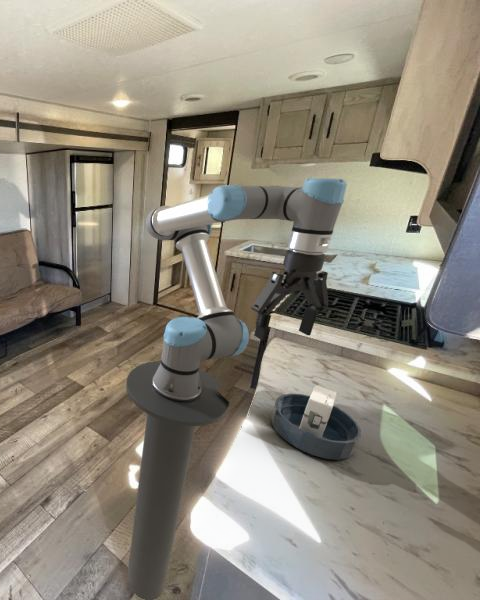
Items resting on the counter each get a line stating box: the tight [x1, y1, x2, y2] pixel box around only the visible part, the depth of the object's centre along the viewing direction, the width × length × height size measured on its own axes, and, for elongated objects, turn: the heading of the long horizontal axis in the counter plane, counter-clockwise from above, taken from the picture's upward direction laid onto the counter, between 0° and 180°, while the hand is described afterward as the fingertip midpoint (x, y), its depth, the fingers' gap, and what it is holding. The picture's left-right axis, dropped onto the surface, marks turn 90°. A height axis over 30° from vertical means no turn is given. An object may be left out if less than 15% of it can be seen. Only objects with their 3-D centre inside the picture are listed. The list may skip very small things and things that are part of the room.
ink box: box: [299, 384, 338, 438], centre depth 83 cm, size 9×5×12 cm, turn 137°
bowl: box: [270, 392, 362, 461], centre depth 84 cm, size 18×18×6 cm
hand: (282, 335), depth 80 cm, fingers open, 13 cm apart
